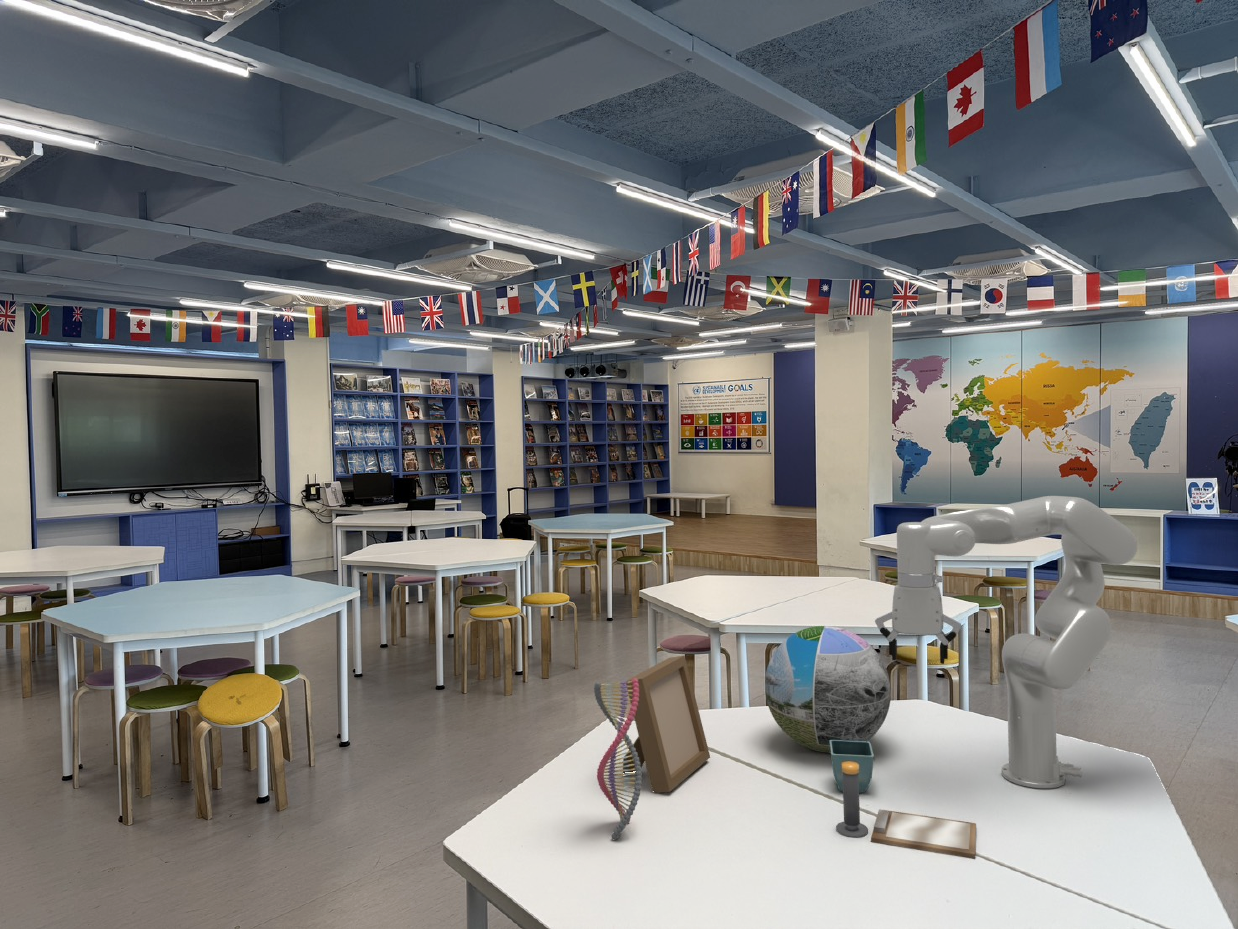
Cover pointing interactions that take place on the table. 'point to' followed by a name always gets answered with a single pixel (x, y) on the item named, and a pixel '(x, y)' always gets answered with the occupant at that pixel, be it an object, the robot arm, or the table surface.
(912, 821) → the clipboard
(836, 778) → the flower pot
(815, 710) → the photo collage ball
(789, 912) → the table surface
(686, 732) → the photo frame
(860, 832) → the dark grey disc
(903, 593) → the robot arm
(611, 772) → the dna model
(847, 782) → the marker
